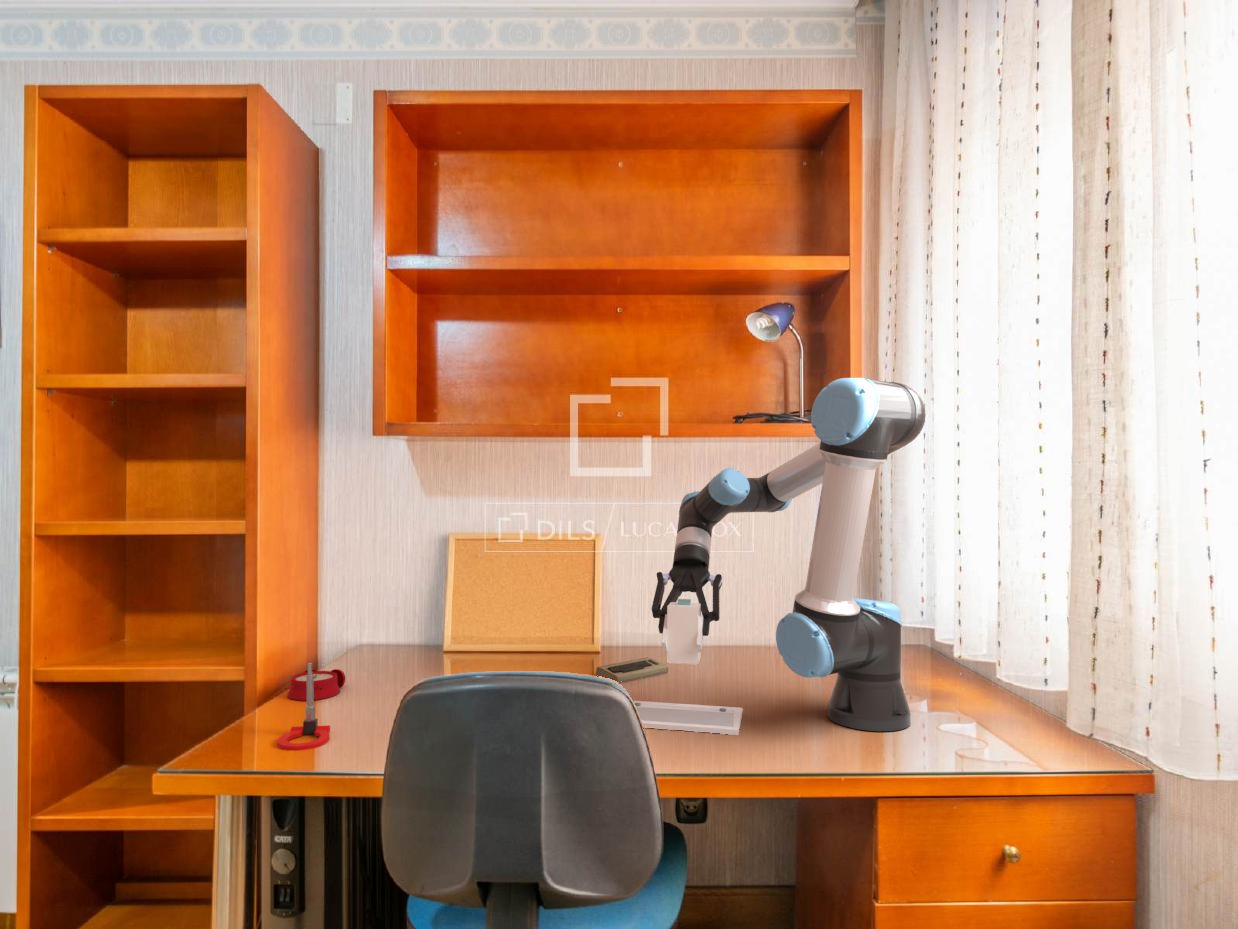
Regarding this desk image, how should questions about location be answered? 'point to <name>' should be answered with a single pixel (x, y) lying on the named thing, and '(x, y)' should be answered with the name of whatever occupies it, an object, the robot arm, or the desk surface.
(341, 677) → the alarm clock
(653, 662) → the computer
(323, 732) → the tow hook
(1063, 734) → the desk surface
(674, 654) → the block
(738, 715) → the panel board
